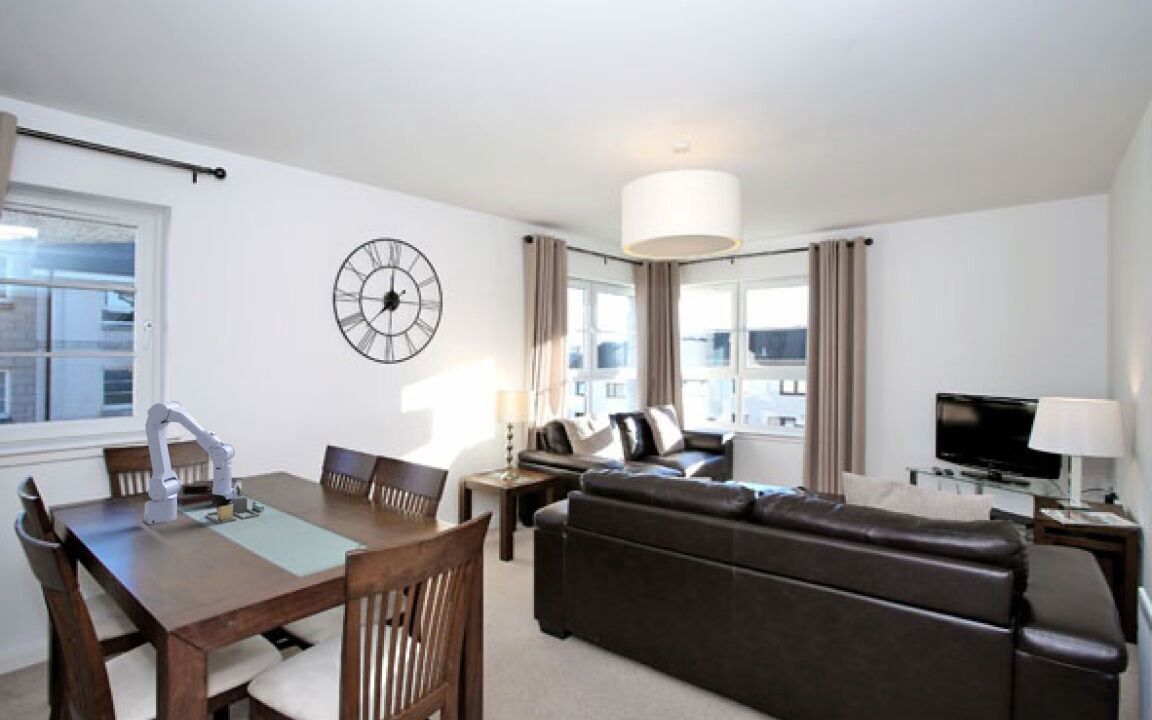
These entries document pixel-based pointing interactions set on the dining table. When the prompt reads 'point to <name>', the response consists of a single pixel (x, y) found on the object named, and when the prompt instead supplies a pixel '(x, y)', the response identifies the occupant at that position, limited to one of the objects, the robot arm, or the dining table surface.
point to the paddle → (257, 506)
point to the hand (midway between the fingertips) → (222, 515)
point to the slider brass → (225, 512)
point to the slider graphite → (240, 504)
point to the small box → (235, 484)
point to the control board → (233, 517)
